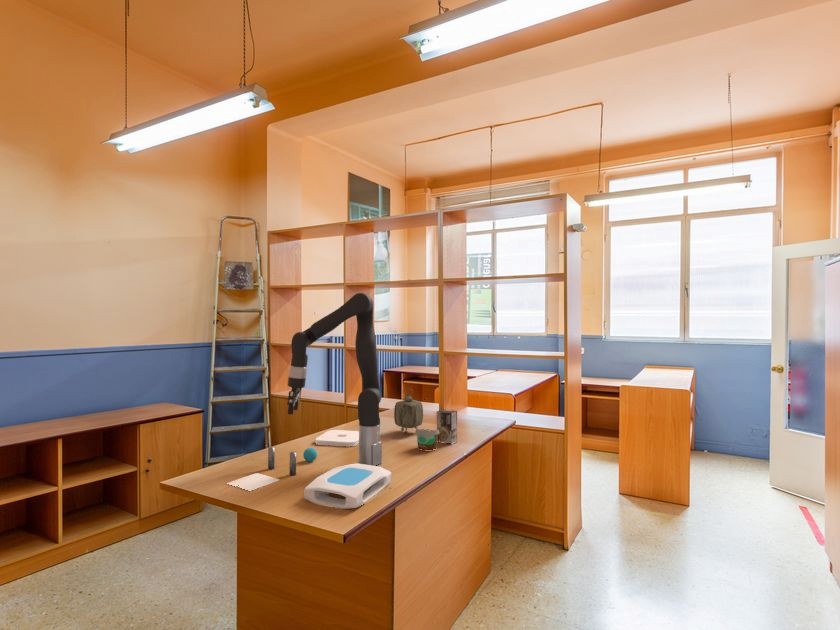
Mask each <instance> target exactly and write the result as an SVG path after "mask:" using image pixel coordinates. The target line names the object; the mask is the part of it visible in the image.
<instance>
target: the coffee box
mask: <svg viewBox="0 0 840 630" xmlns="http://www.w3.org/2000/svg"><path fill="white" fill-rule="evenodd" d="M438 429H439V433H440V434H438V441H440V442H447V443H453V442H455V441H457V442H458V411H457V410H451V409H445V408H444V409H439V410H437V411H436V430H438Z"/></svg>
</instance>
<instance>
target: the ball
mask: <svg viewBox="0 0 840 630" xmlns="http://www.w3.org/2000/svg"><path fill="white" fill-rule="evenodd" d="M302 456H303V459H304V460H305V461H306V462H308V463H311V462H314V461H316V458H317V456H318V452H317V450H316V448H314V447H308V448H306V449H305V450H304V451H303V454H302Z"/></svg>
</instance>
